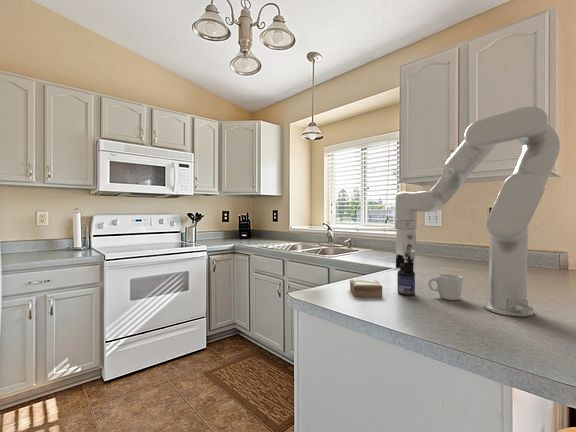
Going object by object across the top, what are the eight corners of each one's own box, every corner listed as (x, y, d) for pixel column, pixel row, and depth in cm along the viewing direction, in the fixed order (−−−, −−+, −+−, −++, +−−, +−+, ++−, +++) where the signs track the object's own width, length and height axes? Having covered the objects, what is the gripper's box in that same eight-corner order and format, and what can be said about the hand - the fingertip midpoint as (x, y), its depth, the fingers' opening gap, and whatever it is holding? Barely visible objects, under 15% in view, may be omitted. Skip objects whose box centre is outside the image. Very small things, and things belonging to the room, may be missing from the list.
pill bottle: (417, 296, 111) (417, 265, 111) (400, 296, 111) (400, 266, 111) (411, 291, 117) (411, 263, 117) (395, 291, 117) (395, 263, 117)
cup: (427, 299, 107) (427, 276, 107) (429, 293, 114) (429, 272, 114) (463, 303, 102) (463, 279, 102) (462, 297, 109) (462, 275, 109)
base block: (382, 297, 110) (382, 285, 110) (354, 296, 110) (354, 285, 110) (375, 290, 120) (375, 279, 120) (350, 289, 120) (350, 279, 120)
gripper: (424, 227, 105) (423, 276, 106) (408, 224, 122) (406, 266, 123) (402, 226, 105) (401, 275, 106) (389, 223, 123) (387, 265, 123)
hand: (404, 270), depth 114 cm, fingers open, 9 cm apart
